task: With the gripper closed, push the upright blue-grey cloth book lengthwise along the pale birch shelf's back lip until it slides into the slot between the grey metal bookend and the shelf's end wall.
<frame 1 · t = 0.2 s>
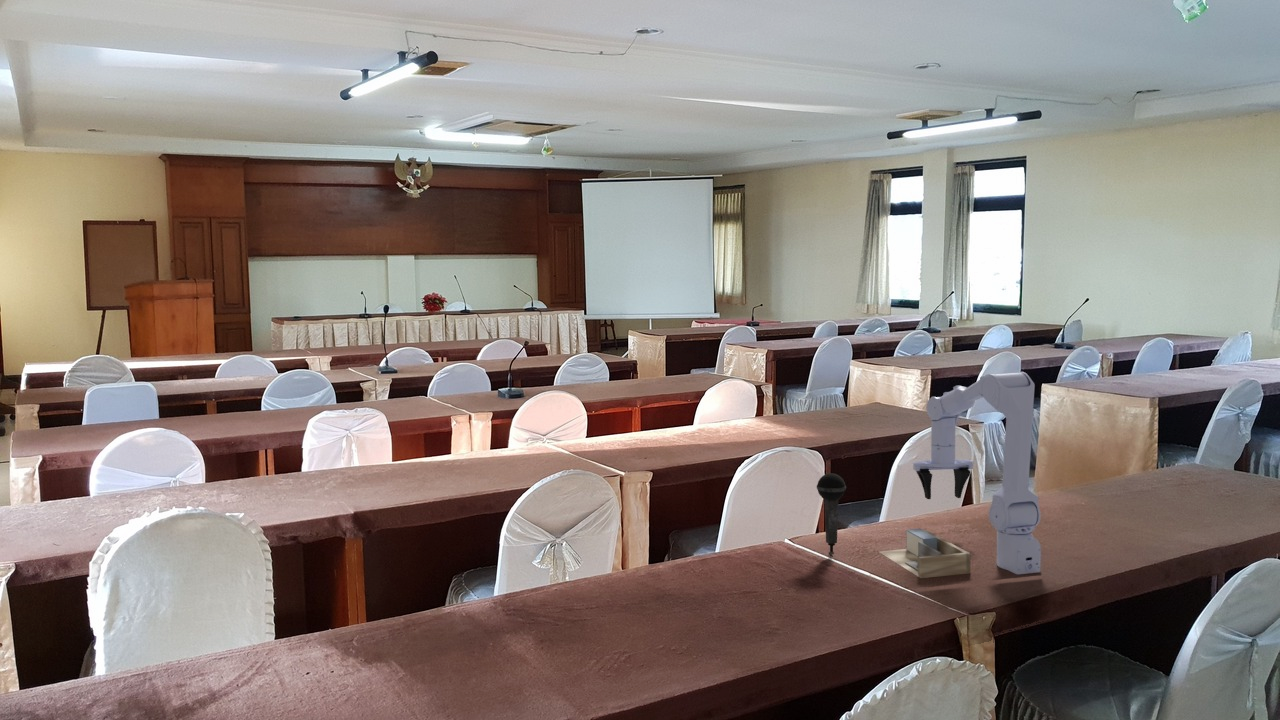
hand: (942, 497, 237), 10 cm above the table, fingers open, 7 cm apart
shelf: (922, 565, 216), on the table
book: (921, 554, 221), point 1 cm above the table, touching shelf
microphone: (831, 557, 224), on the table
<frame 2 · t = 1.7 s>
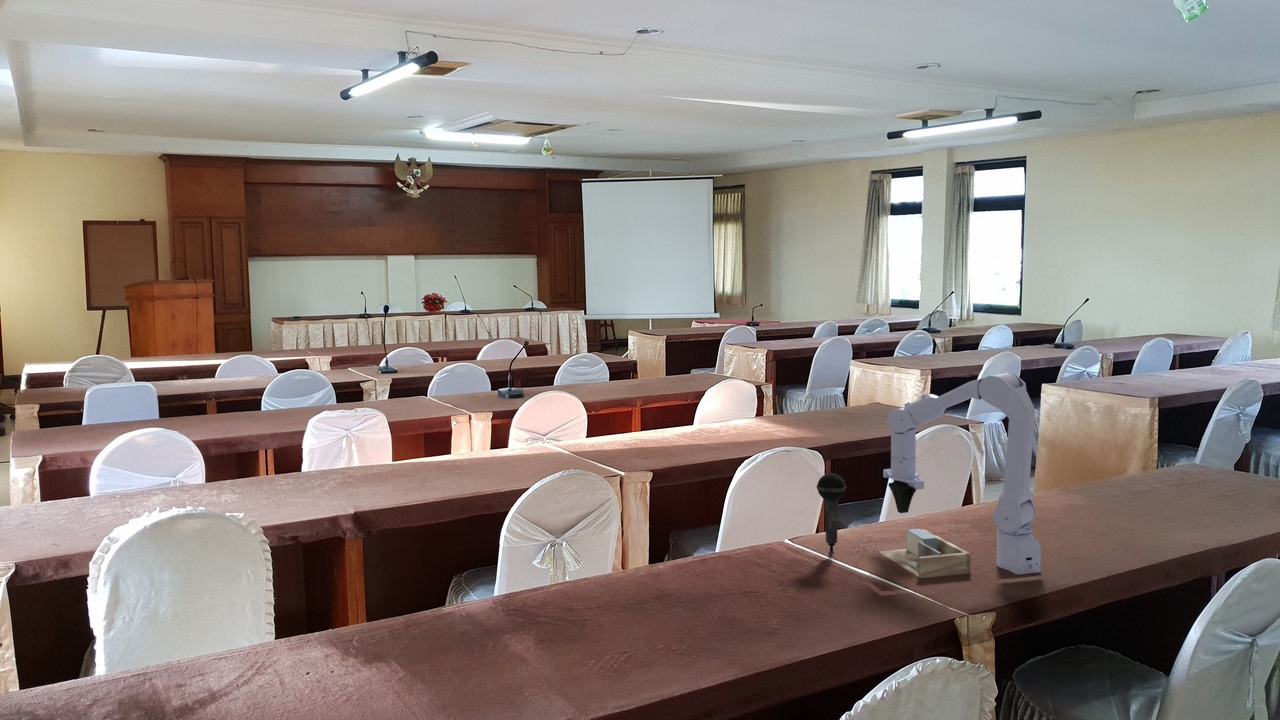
hand: (902, 512, 229), 9 cm above the table, fingers closed
nothing on the table moved.
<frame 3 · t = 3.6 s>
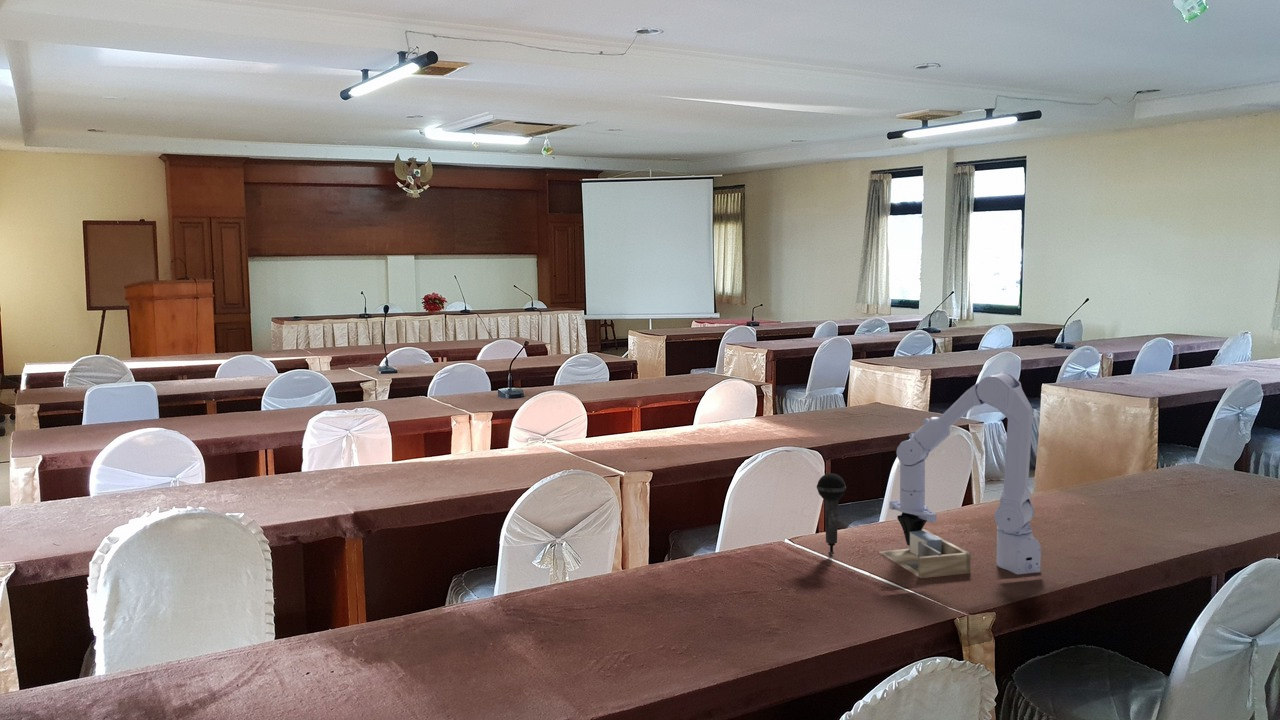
hand: (912, 545, 226), 2 cm above the table, fingers closed
book: (925, 556, 220), point 1 cm above the table, touching shelf
everything else where it was.
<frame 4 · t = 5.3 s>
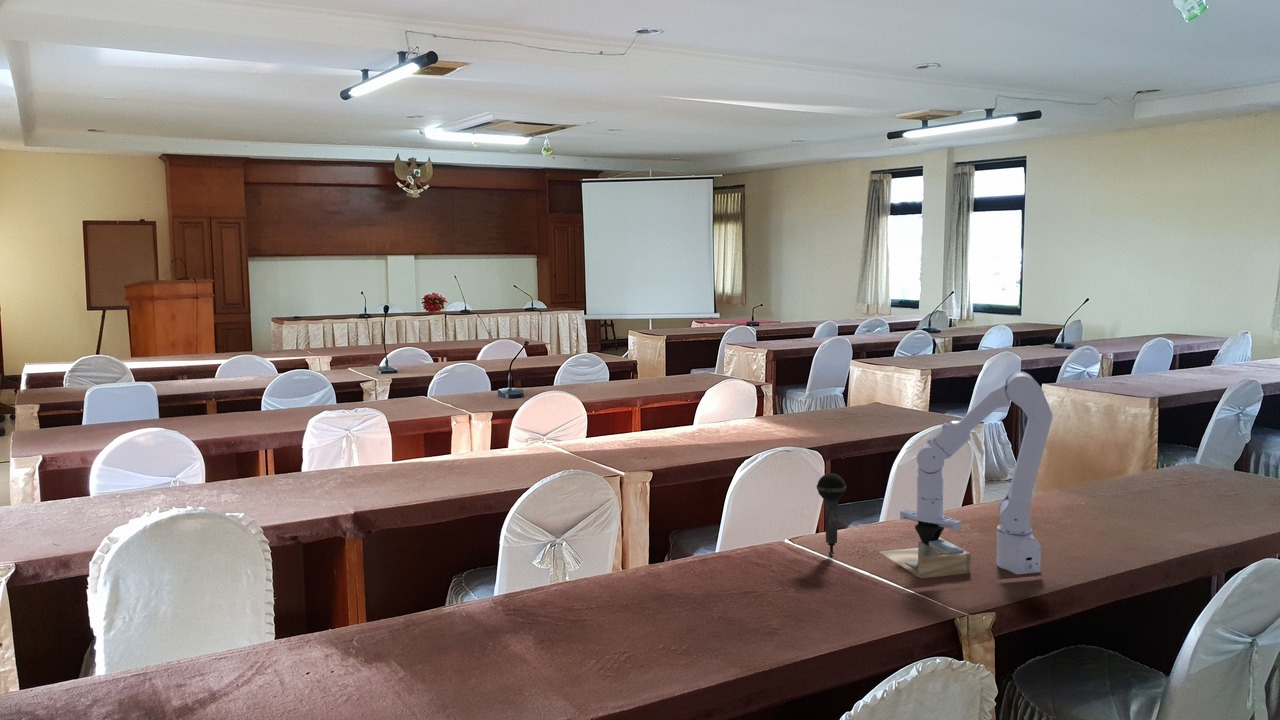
hand: (929, 554, 218), 2 cm above the table, fingers closed
book: (945, 567, 212), point 1 cm above the table, touching gripper, shelf
everything else where it was.
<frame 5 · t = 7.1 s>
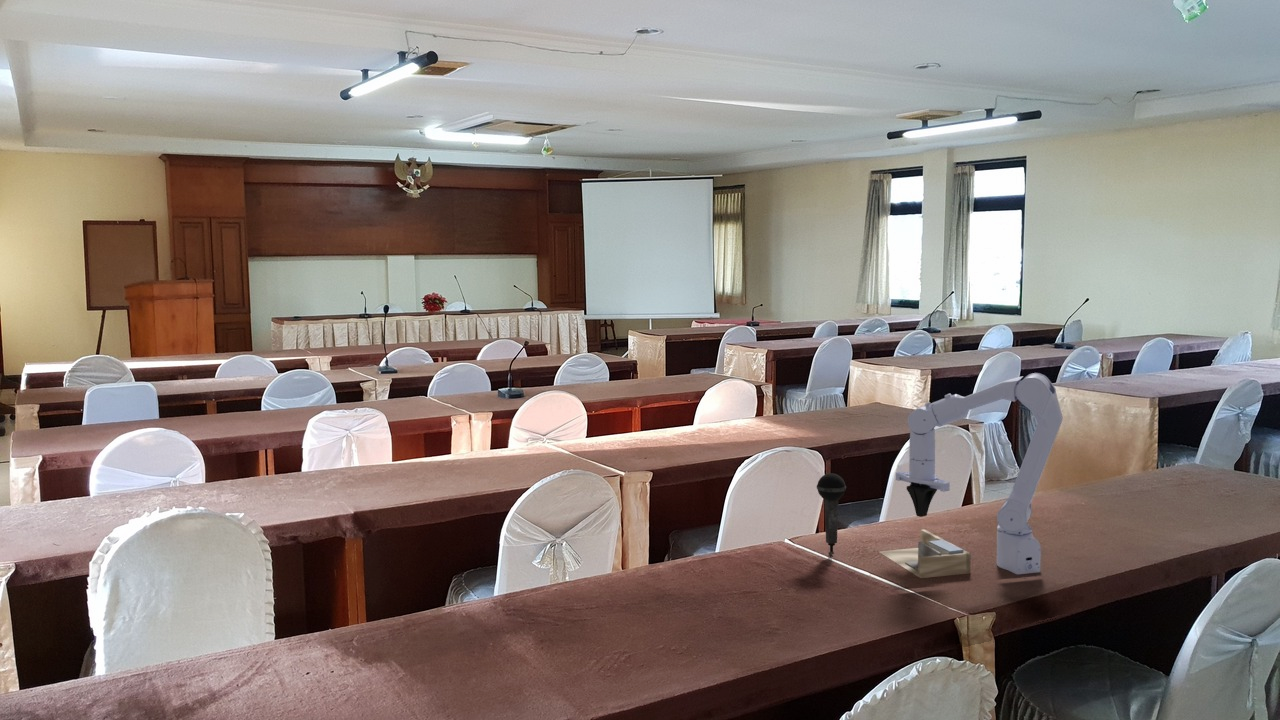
hand: (921, 515, 221), 10 cm above the table, fingers closed
book: (945, 567, 212), point 1 cm above the table, touching shelf
everything else where it was.
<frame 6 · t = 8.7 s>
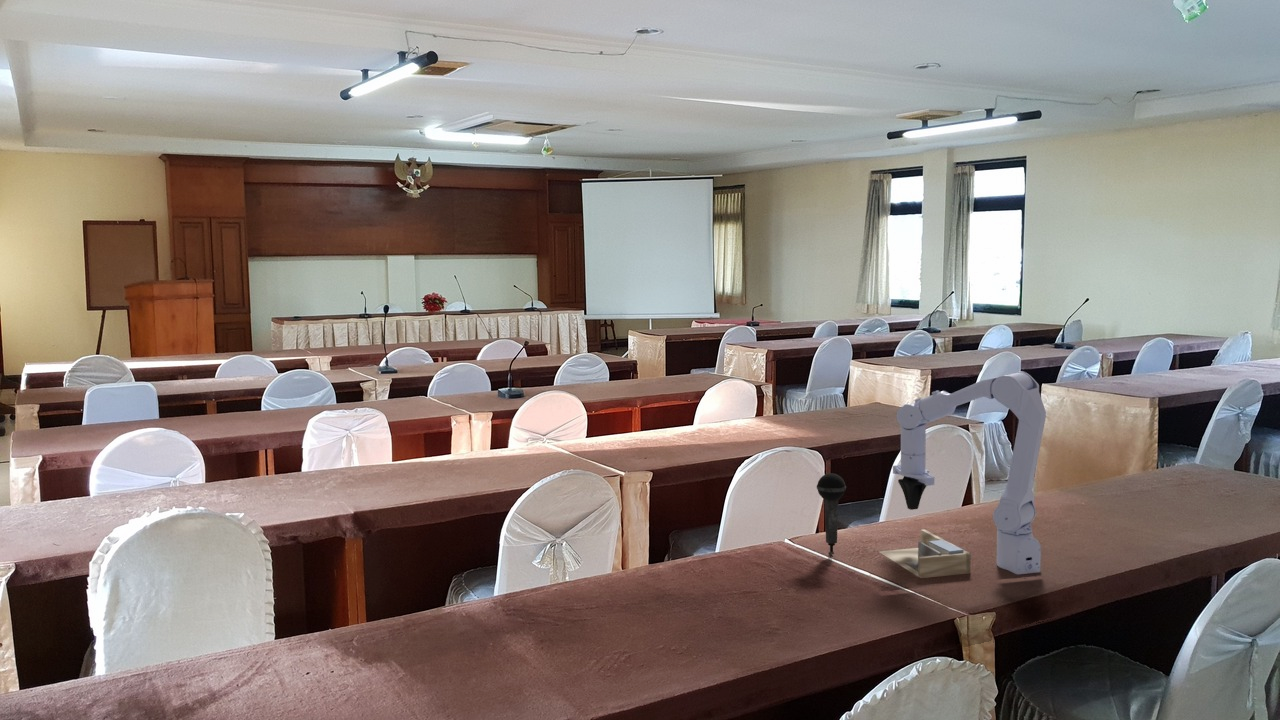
hand: (912, 508, 228), 10 cm above the table, fingers closed
nothing on the table moved.
at the end: book 0.9 cm from the target spot on the shelf, point 0.8 cm above the shelf's base; book tilted 0° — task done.
